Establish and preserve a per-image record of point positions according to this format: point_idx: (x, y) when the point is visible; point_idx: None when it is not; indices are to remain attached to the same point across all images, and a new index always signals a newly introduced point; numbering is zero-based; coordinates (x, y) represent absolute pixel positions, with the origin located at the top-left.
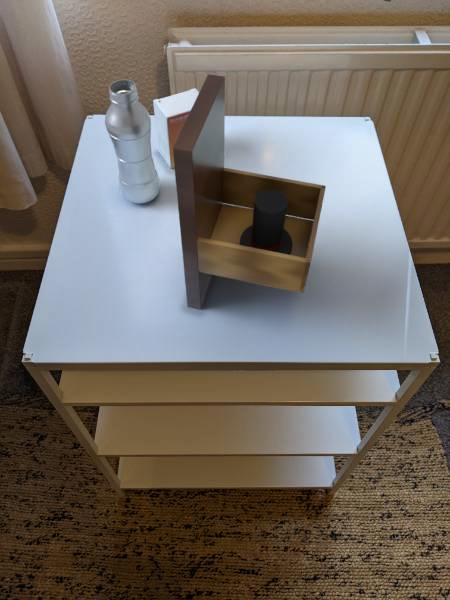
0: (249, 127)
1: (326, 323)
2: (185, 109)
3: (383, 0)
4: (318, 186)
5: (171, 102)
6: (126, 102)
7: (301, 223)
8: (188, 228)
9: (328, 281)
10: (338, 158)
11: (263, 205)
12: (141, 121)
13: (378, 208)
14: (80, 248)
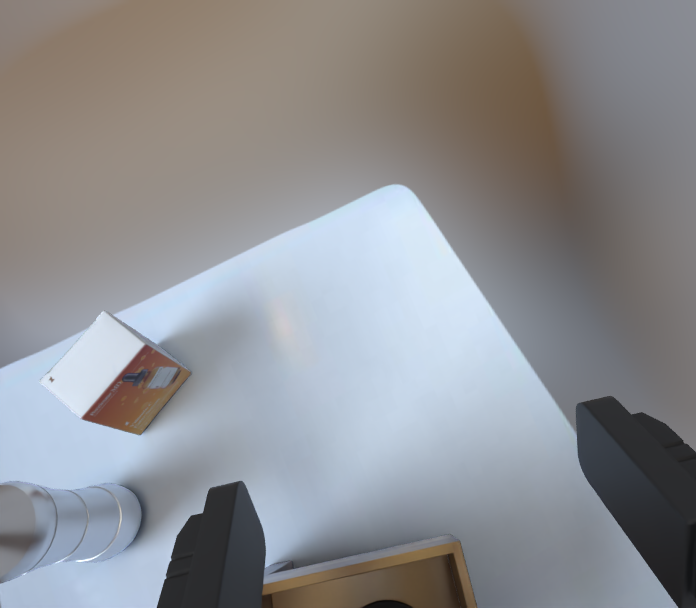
0: (228, 276)
1: None
2: (106, 379)
3: (584, 472)
4: (447, 551)
5: (74, 372)
6: None
7: (427, 563)
8: None
9: (491, 561)
10: (393, 277)
11: None
12: (27, 541)
13: (498, 356)
14: None
